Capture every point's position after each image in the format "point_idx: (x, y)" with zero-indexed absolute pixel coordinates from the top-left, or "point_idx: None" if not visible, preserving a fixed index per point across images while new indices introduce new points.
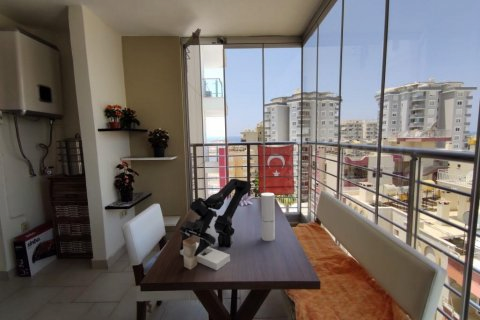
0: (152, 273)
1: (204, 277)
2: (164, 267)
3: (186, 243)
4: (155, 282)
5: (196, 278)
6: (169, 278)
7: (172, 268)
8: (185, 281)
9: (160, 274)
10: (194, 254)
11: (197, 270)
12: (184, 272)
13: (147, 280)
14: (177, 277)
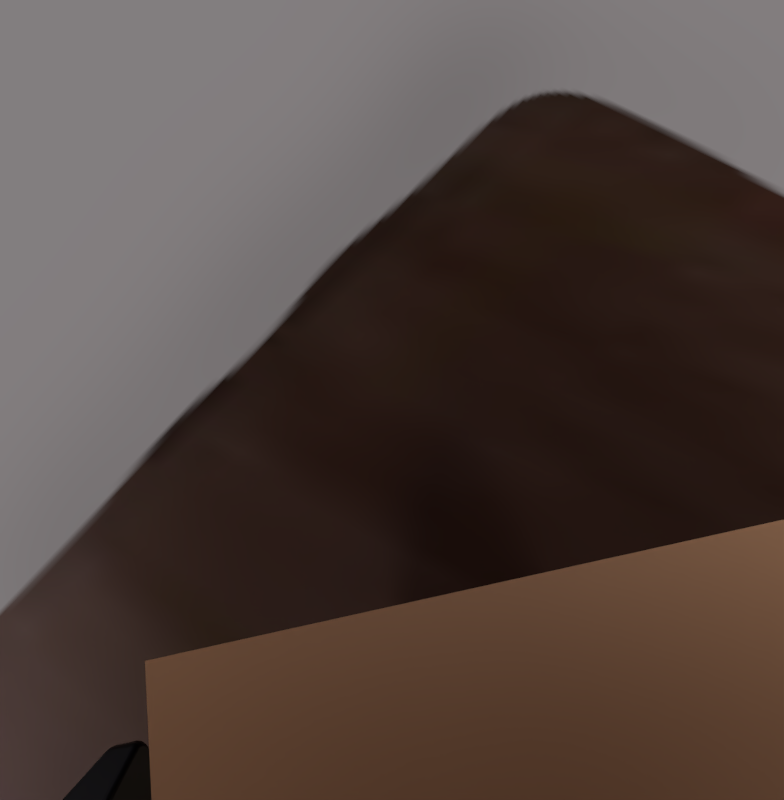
0: (707, 171)
1: (6, 737)
2: (776, 351)
3: (411, 611)
4: (458, 152)
5: (95, 614)
6: (410, 307)
7: (653, 442)
8: (172, 447)
9: (602, 245)
10: (114, 758)
11: None
12: (388, 546)
13: (573, 93)
14: (346, 401)
